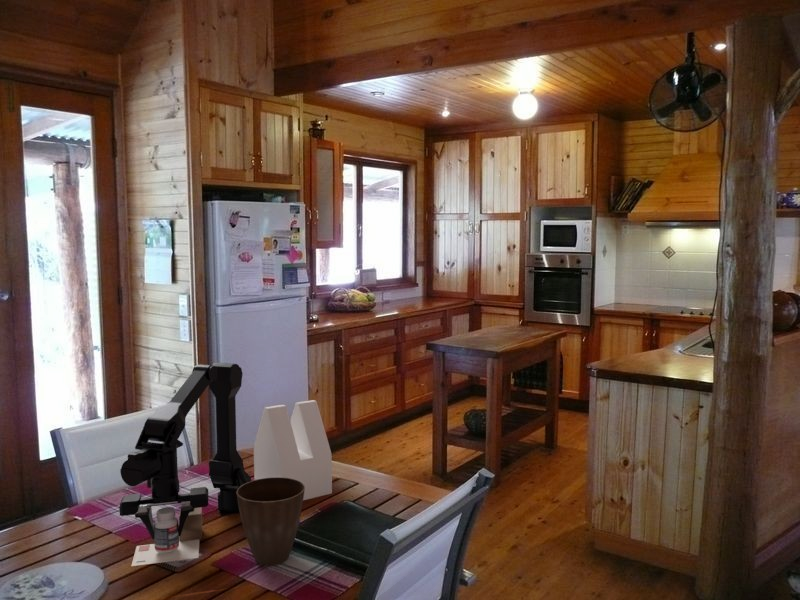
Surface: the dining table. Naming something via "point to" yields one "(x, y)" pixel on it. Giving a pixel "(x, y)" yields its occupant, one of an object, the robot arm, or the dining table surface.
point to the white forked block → (294, 448)
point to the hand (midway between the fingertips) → (166, 537)
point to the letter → (150, 556)
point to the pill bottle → (166, 530)
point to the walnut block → (192, 526)
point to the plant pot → (271, 517)
